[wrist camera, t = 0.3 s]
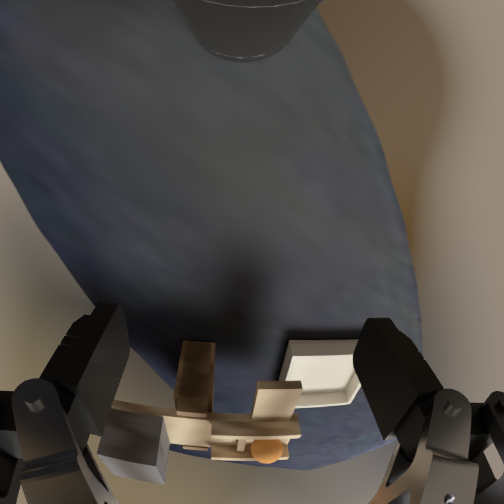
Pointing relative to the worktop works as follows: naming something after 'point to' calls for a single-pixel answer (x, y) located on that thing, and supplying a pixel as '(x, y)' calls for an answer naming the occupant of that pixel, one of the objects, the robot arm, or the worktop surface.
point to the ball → (267, 450)
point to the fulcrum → (195, 381)
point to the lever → (196, 431)
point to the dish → (322, 371)
